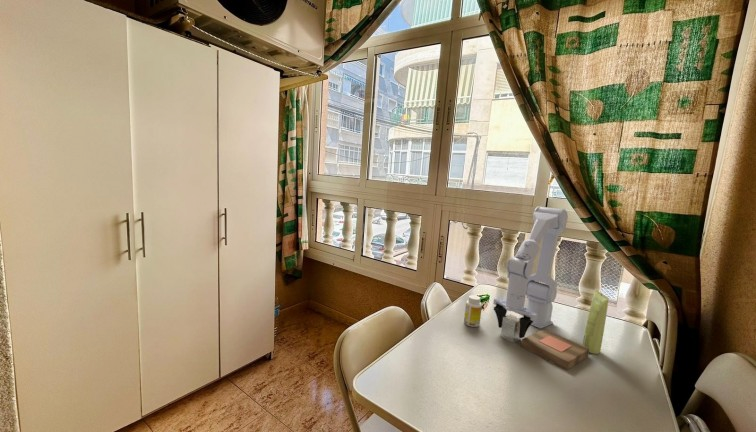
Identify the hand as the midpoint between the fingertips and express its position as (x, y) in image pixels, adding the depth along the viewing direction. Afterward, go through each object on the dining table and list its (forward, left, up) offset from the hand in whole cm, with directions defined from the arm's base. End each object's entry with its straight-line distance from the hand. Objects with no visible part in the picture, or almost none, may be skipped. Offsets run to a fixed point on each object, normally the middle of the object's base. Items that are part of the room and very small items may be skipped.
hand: (511, 331), depth 106 cm
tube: (-17, +18, -2) cm, 25 cm away
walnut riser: (-5, +12, -2) cm, 13 cm away
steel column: (0, 0, -2) cm, 2 cm away
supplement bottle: (+4, -13, -2) cm, 14 cm away
